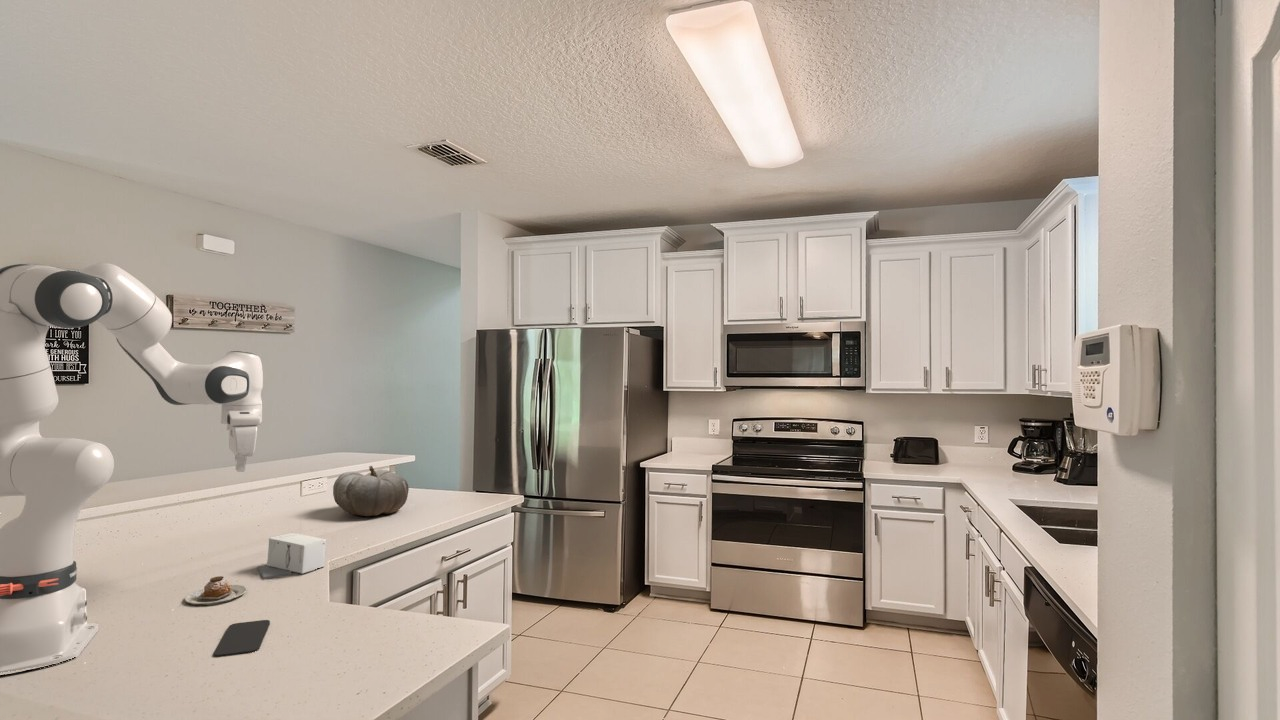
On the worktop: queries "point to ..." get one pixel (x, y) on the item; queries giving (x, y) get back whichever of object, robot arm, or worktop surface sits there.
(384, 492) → the gourd
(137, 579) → the worktop surface
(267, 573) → the slate mat
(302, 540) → the supplement box
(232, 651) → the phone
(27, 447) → the robot arm
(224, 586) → the pastry
